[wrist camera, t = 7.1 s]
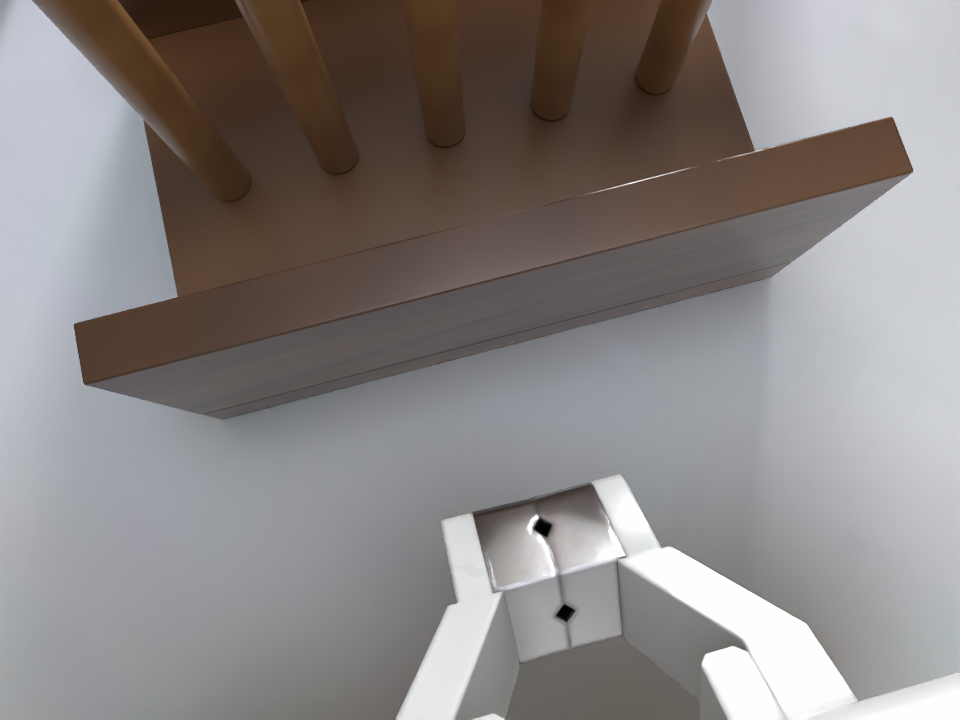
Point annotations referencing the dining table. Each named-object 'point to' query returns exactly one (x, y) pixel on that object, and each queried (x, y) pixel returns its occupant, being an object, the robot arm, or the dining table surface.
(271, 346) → the plate rack
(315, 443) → the dining table surface
